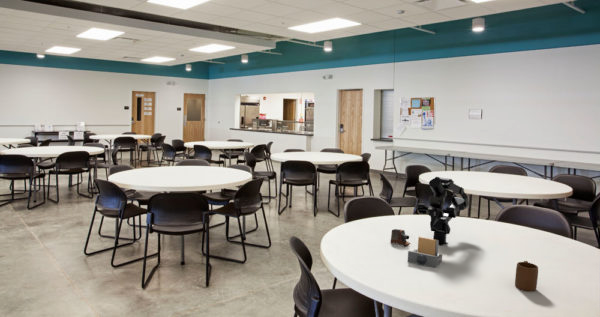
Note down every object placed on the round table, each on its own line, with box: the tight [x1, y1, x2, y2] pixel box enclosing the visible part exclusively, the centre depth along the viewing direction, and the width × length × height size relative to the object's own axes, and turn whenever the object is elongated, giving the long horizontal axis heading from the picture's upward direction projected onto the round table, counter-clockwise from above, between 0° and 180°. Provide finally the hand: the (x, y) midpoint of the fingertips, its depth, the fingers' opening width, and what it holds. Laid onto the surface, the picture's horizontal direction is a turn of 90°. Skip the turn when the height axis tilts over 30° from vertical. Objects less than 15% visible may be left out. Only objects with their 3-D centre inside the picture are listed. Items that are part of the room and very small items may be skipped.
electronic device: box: [390, 228, 411, 247], centre depth 213 cm, size 4×10×8 cm, turn 44°
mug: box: [514, 260, 539, 292], centre depth 164 cm, size 12×8×9 cm, turn 156°
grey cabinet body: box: [407, 248, 443, 269], centre depth 188 cm, size 12×13×5 cm
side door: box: [417, 236, 439, 257], centre depth 192 cm, size 2×9×9 cm, turn 57°
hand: (432, 224), depth 202 cm, fingers closed
